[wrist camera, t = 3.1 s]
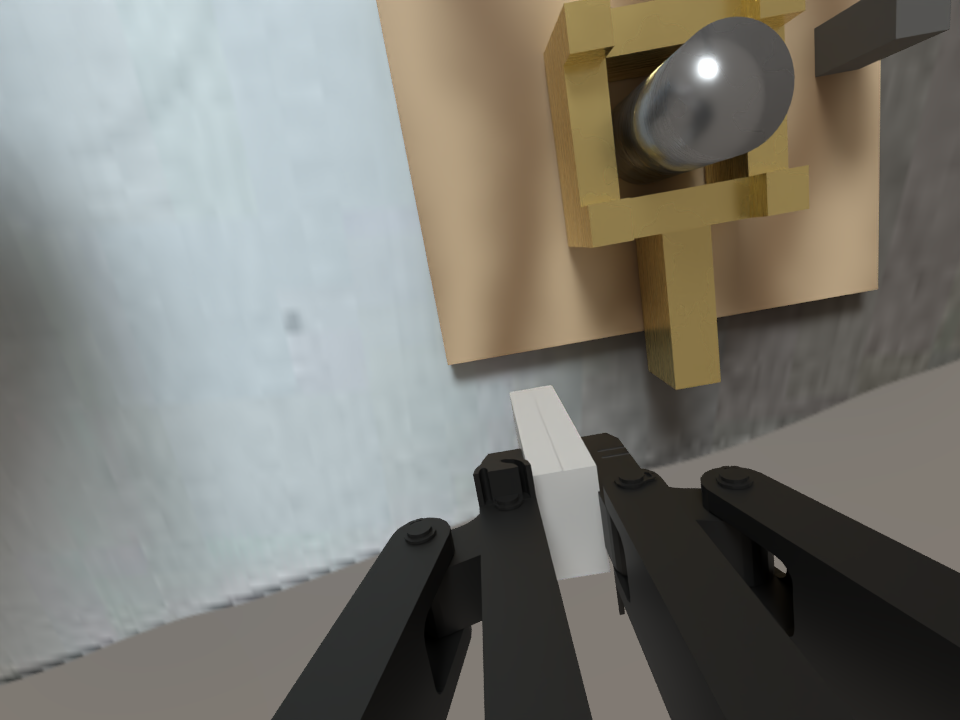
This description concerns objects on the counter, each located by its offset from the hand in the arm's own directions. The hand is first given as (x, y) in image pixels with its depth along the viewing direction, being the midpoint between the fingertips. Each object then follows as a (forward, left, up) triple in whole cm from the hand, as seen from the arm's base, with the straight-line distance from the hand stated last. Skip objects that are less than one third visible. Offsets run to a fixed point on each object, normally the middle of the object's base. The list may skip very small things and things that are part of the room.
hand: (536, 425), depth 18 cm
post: (+8, +10, -9) cm, 16 cm away
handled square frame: (+8, +6, -8) cm, 13 cm away
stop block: (+17, +12, -8) cm, 22 cm away
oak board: (+8, +10, -9) cm, 16 cm away
